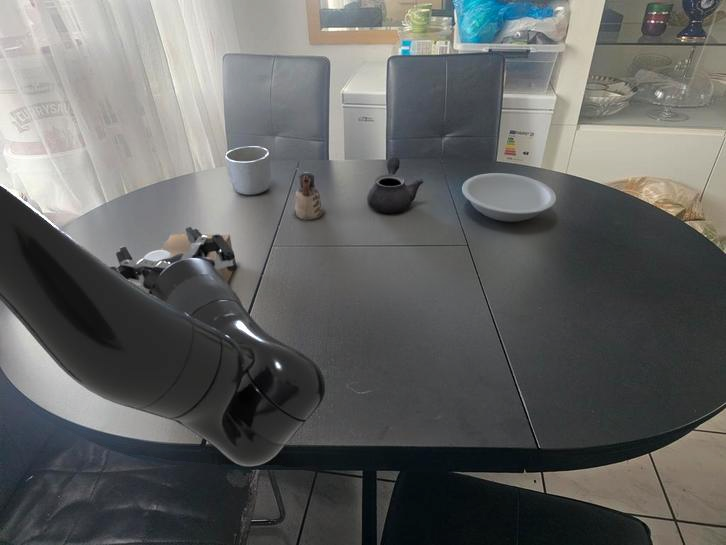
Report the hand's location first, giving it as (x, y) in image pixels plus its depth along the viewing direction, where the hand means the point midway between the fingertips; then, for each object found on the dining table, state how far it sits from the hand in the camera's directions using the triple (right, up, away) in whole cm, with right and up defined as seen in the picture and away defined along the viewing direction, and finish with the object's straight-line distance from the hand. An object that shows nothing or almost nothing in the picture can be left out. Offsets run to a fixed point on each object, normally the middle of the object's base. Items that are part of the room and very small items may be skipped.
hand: (157, 242), depth 60 cm
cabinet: (-8, -7, +35) cm, 37 cm away
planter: (-5, +21, +74) cm, 77 cm away
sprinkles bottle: (-8, -12, +24) cm, 29 cm away
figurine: (+13, +12, +61) cm, 64 cm away
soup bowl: (+66, +12, +61) cm, 91 cm away
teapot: (+36, +17, +68) cm, 79 cm away
